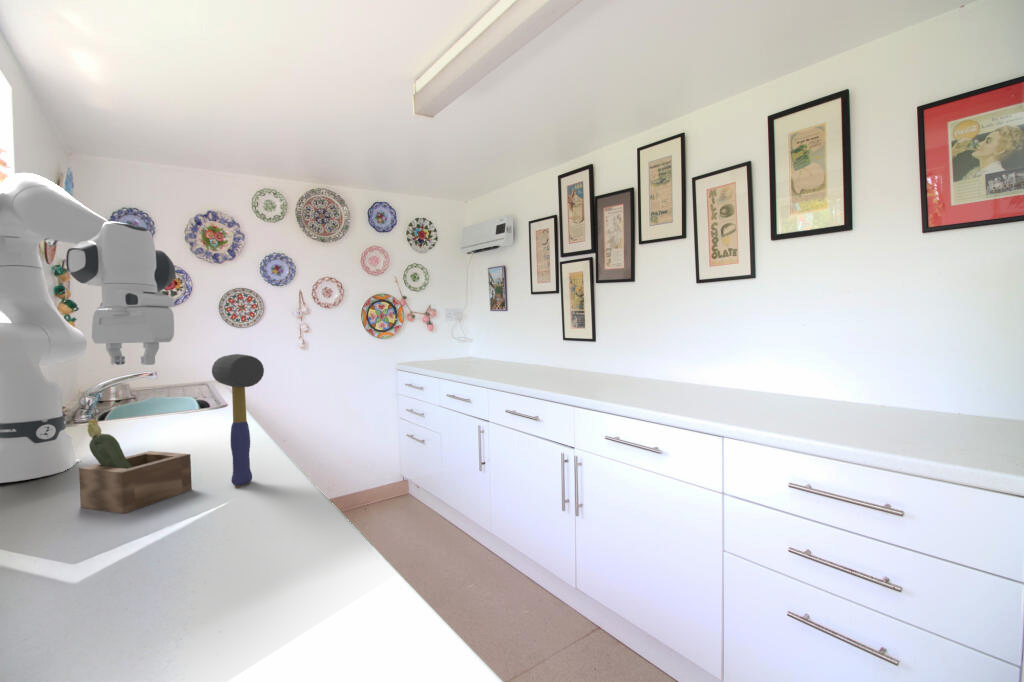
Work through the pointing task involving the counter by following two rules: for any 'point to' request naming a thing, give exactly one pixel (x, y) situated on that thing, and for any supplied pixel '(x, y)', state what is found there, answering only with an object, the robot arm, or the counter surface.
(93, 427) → the vegetable
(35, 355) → the robot arm
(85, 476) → the socket block
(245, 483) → the rubber mallet
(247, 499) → the counter surface
